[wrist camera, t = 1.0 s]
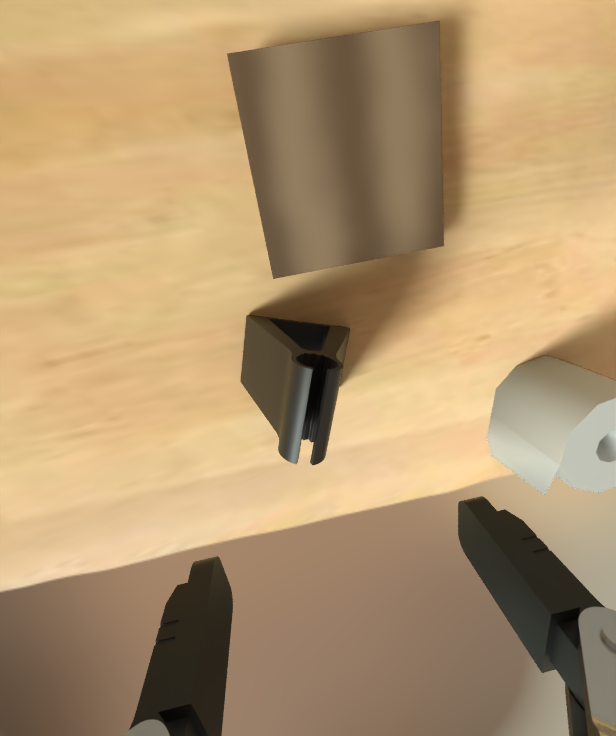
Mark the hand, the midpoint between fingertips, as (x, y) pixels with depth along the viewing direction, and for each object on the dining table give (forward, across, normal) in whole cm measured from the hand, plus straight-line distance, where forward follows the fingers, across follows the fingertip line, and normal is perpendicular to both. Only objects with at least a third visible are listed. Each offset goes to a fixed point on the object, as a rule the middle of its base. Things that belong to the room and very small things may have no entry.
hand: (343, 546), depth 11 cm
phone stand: (+20, 0, 0) cm, 20 cm away
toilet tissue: (+20, -23, +11) cm, 33 cm away
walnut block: (+20, -6, -14) cm, 25 cm away
